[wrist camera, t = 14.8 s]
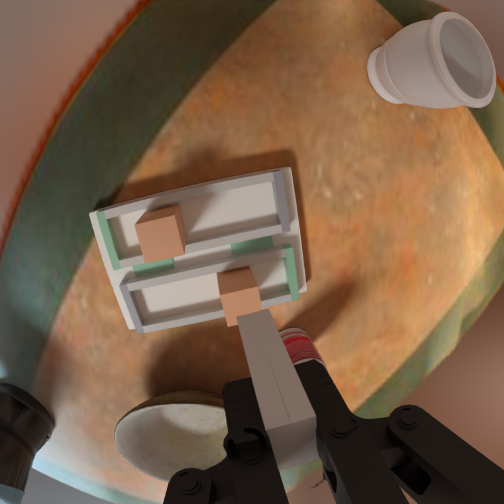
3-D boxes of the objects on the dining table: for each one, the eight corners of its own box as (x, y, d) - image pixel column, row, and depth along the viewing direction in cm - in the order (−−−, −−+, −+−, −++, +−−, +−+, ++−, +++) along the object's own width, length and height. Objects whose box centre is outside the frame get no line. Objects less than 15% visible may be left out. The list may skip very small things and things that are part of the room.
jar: (424, 111, 36) (503, 110, 22) (366, 112, 35) (445, 105, 21) (411, 43, 32) (484, 22, 18) (351, 37, 31) (420, 0, 17)
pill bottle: (260, 344, 44) (277, 397, 33) (294, 318, 43) (320, 367, 33) (284, 365, 46) (305, 417, 36) (316, 342, 45) (344, 390, 35)
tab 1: (153, 244, 35) (145, 263, 29) (144, 211, 33) (134, 224, 28) (186, 237, 35) (184, 254, 29) (178, 203, 34) (174, 215, 28)
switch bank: (131, 323, 39) (127, 336, 37) (92, 210, 34) (84, 216, 31) (303, 286, 42) (310, 296, 39) (287, 166, 36) (294, 168, 33)
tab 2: (223, 301, 38) (227, 326, 33) (216, 272, 37) (219, 295, 31) (254, 293, 39) (263, 318, 33) (248, 264, 37) (257, 286, 32)
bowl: (104, 420, 45) (95, 463, 35) (157, 333, 40) (149, 381, 31) (214, 459, 52) (219, 498, 43) (287, 389, 48) (304, 434, 39)
